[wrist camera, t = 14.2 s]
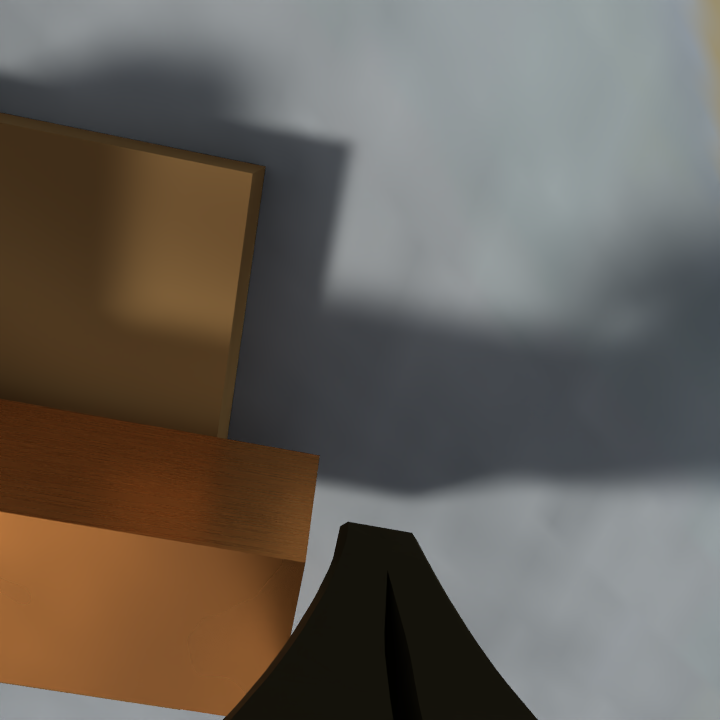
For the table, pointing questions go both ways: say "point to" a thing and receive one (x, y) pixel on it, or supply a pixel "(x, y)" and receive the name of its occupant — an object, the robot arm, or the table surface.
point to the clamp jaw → (146, 558)
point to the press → (122, 276)
